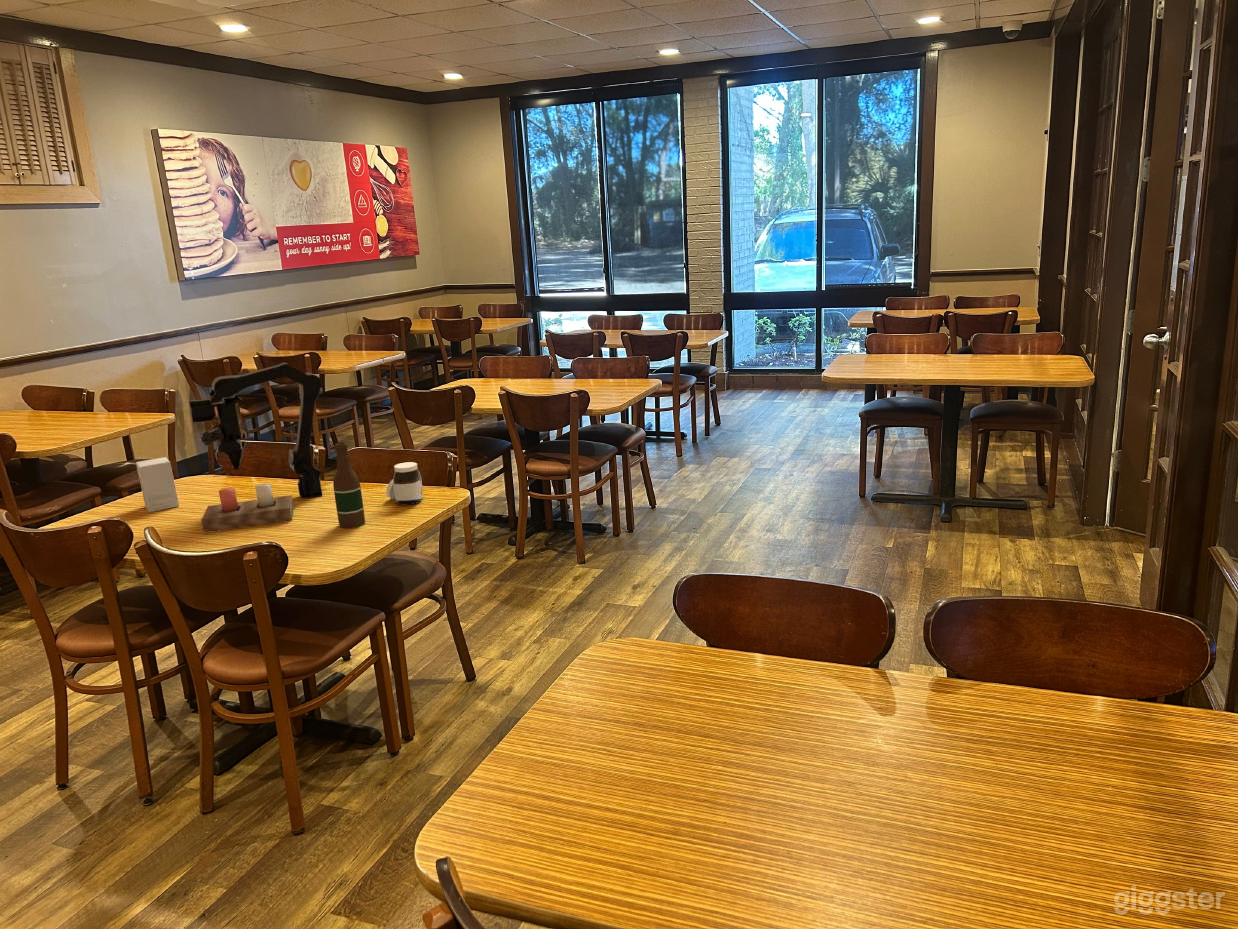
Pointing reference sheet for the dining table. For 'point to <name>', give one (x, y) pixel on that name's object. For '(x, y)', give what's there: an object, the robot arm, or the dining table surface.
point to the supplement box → (157, 484)
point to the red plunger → (228, 499)
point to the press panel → (248, 514)
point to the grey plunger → (264, 495)
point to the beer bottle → (347, 491)
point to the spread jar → (406, 484)
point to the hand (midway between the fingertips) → (237, 467)
